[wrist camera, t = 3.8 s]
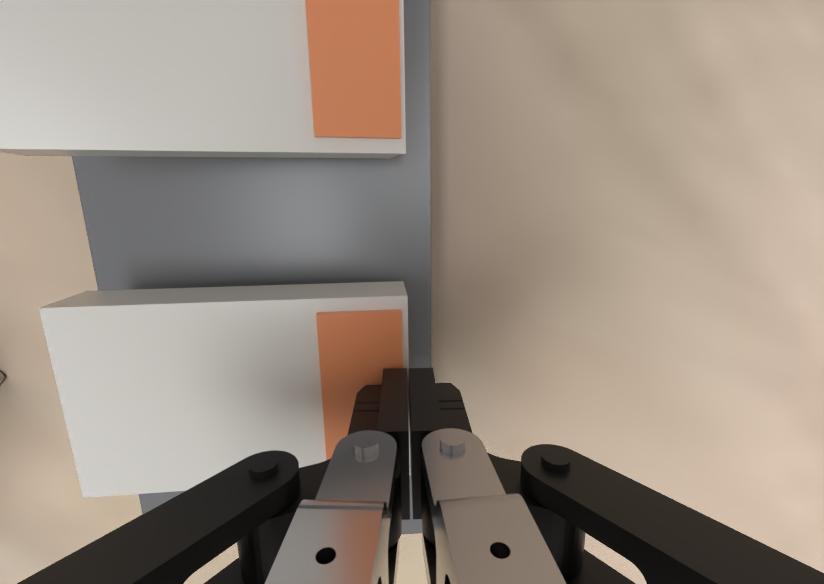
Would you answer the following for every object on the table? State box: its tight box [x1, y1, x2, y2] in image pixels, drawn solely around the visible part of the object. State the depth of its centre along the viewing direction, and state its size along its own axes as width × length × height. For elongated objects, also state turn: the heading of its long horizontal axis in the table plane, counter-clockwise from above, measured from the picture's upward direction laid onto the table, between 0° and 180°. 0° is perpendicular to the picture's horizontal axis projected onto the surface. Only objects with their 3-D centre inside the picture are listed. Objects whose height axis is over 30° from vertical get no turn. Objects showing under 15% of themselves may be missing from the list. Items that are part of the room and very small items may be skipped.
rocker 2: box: [39, 281, 411, 498], centre depth 13 cm, size 6×10×2 cm, turn 91°
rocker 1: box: [0, 0, 406, 159], centre depth 11 cm, size 6×10×2 cm, turn 91°
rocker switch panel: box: [72, 0, 431, 534], centre depth 15 cm, size 30×12×4 cm, turn 1°
